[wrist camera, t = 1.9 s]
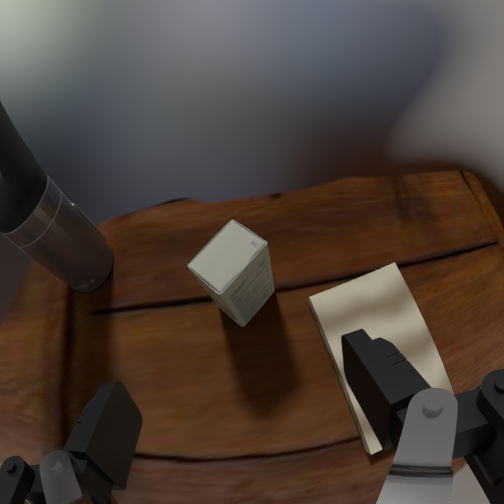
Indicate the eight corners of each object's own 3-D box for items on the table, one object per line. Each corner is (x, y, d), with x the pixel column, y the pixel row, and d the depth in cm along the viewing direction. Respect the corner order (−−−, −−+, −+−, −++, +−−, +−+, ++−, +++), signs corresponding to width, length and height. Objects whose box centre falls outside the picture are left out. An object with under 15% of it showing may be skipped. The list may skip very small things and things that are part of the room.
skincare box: (249, 271, 37) (234, 215, 26) (276, 291, 35) (271, 239, 25) (215, 308, 35) (184, 264, 24) (241, 330, 33) (219, 295, 23)
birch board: (308, 302, 34) (309, 296, 32) (389, 269, 35) (394, 262, 33) (366, 451, 24) (371, 454, 23) (448, 403, 25) (456, 402, 23)
